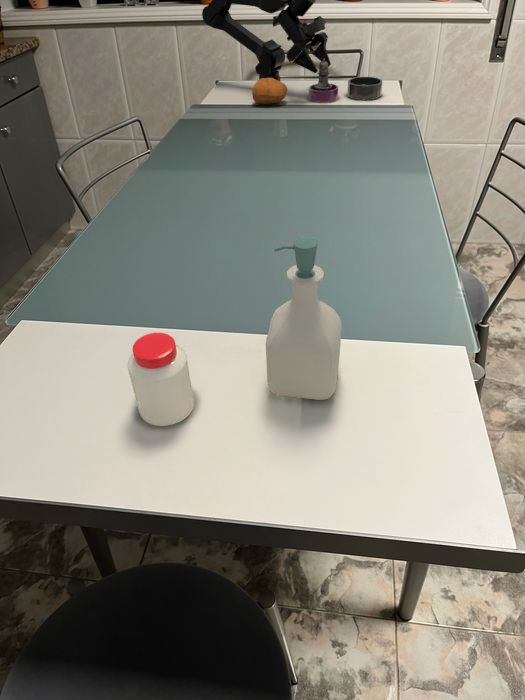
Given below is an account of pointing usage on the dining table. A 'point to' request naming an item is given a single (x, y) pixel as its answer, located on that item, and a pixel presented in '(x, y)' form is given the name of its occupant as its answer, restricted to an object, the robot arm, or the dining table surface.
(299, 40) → the robot arm
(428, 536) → the dining table surface
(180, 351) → the pill bottle
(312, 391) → the soap bottle
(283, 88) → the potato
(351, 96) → the charcoal bowl
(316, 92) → the plum bowl
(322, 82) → the salt shaker
